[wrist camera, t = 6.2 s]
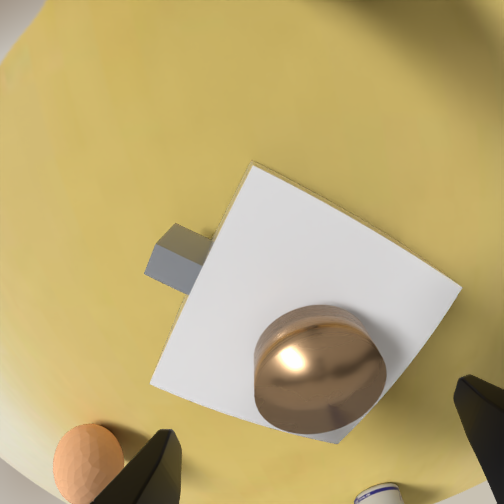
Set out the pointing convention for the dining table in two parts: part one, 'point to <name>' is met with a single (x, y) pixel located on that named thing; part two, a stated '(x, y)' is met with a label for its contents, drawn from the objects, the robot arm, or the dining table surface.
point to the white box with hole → (285, 290)
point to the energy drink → (380, 495)
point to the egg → (86, 462)
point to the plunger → (316, 370)
